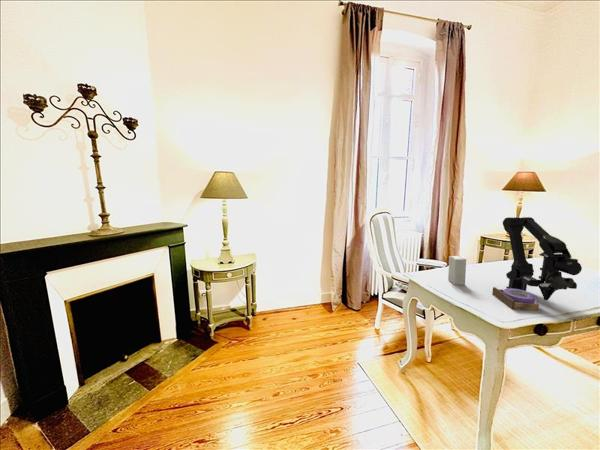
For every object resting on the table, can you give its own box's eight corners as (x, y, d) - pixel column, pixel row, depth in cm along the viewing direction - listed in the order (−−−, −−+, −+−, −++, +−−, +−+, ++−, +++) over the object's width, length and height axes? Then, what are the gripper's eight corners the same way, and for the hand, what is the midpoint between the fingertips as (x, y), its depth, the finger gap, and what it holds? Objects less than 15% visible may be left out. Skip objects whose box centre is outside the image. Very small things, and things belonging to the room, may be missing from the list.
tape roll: (522, 310, 117) (523, 299, 116) (496, 299, 128) (497, 289, 127) (540, 307, 120) (542, 296, 119) (513, 296, 131) (515, 287, 130)
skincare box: (465, 285, 145) (467, 259, 143) (453, 285, 146) (456, 259, 144) (457, 279, 154) (459, 255, 151) (446, 279, 154) (449, 255, 152)
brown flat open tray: (511, 309, 118) (512, 300, 117) (492, 294, 133) (493, 287, 132) (538, 311, 116) (539, 302, 115) (515, 296, 131) (516, 288, 131)
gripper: (540, 272, 113) (535, 306, 116) (590, 274, 110) (584, 309, 112) (523, 264, 124) (519, 295, 126) (569, 266, 121) (563, 298, 123)
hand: (545, 299), depth 122 cm, fingers closed
